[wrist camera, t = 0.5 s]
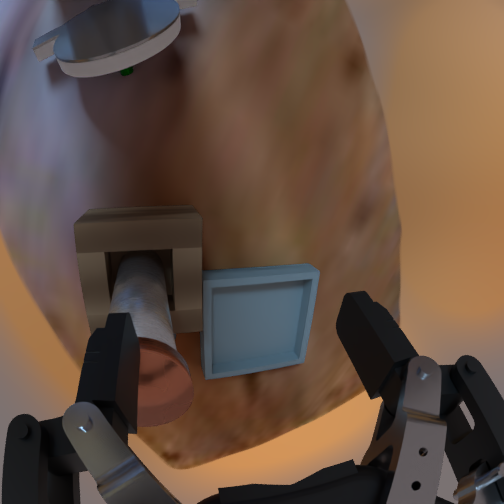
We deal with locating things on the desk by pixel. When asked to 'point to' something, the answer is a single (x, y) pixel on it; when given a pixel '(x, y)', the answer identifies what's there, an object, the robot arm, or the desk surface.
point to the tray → (256, 318)
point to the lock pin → (152, 339)
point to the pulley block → (142, 238)
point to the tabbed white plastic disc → (112, 36)
